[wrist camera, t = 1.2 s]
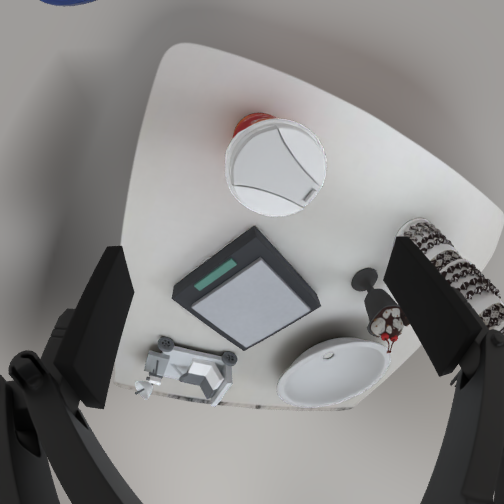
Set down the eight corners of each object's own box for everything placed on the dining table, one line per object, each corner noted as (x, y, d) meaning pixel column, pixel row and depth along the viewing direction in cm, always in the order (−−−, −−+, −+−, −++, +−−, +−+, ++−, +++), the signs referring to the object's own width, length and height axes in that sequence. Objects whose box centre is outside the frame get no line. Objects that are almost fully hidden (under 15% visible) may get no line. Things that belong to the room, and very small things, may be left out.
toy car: (131, 403, 48) (137, 375, 43) (137, 364, 56) (145, 331, 51) (219, 420, 53) (240, 395, 48) (218, 381, 62) (237, 352, 56)
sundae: (340, 291, 49) (370, 360, 37) (359, 260, 46) (399, 327, 34) (368, 297, 51) (401, 361, 39) (388, 268, 48) (429, 331, 35)
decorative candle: (421, 264, 48) (495, 369, 27) (383, 259, 47) (458, 381, 26) (442, 221, 43) (534, 320, 23) (404, 211, 42) (505, 325, 21)
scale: (173, 285, 46) (170, 302, 43) (254, 225, 41) (257, 239, 38) (242, 338, 54) (244, 354, 51) (316, 294, 49) (322, 309, 46)
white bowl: (258, 383, 63) (261, 407, 58) (297, 309, 51) (306, 338, 45) (347, 384, 68) (354, 405, 63) (399, 320, 56) (412, 343, 51)
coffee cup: (305, 129, 34) (352, 164, 22) (265, 179, 38) (287, 240, 25) (250, 89, 31) (268, 97, 19) (209, 144, 34) (201, 187, 22)
